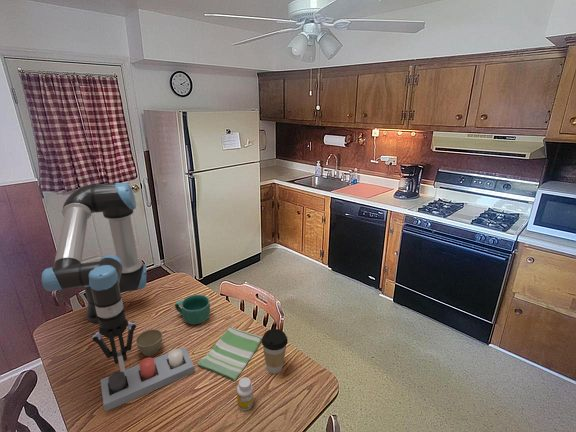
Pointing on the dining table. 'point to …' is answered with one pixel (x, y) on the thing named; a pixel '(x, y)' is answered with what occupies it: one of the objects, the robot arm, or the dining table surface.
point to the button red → (147, 368)
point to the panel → (148, 385)
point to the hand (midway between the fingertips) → (122, 368)
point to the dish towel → (231, 353)
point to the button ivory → (175, 358)
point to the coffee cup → (274, 349)
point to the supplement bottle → (245, 394)
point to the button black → (117, 382)
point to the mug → (194, 309)
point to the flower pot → (149, 341)
